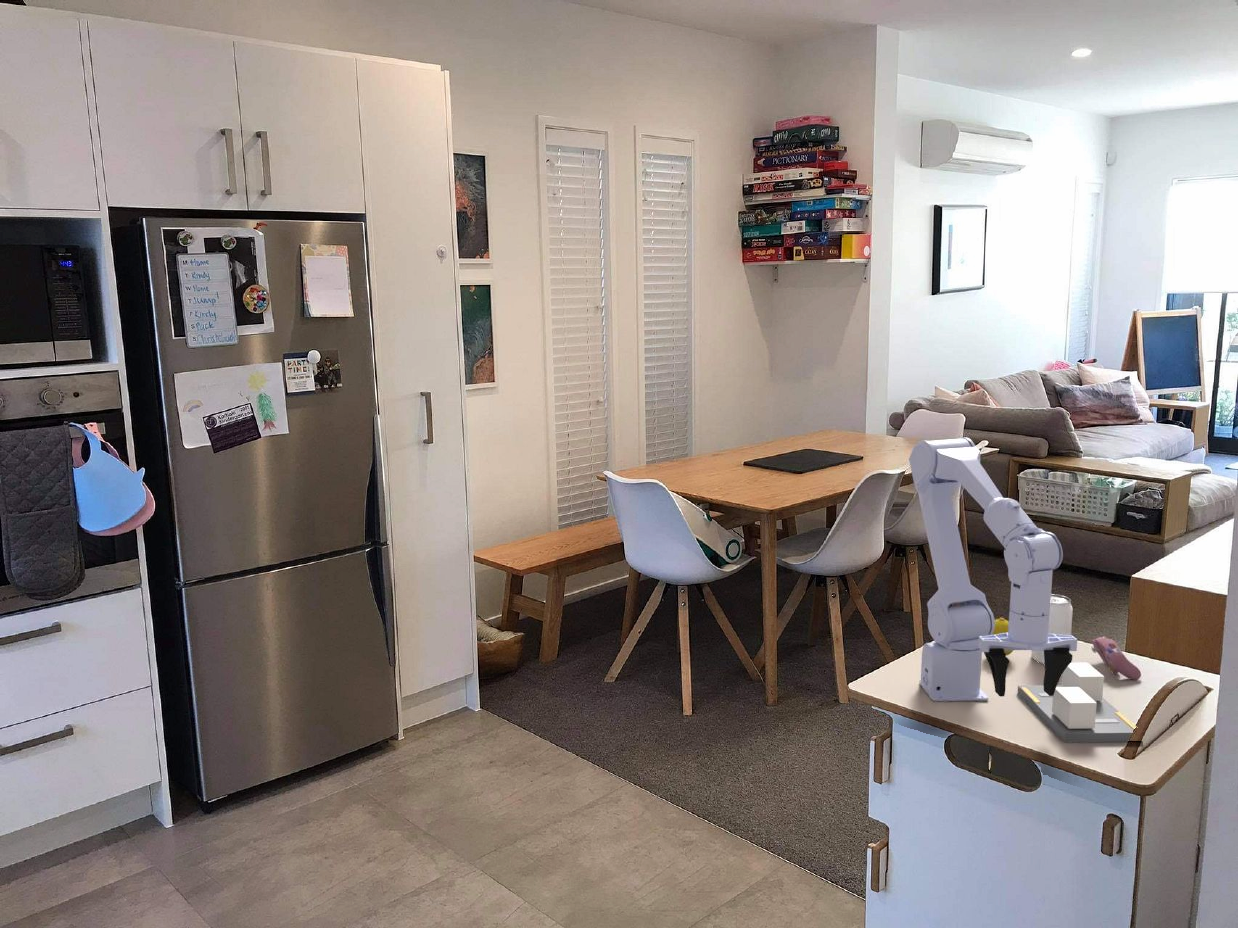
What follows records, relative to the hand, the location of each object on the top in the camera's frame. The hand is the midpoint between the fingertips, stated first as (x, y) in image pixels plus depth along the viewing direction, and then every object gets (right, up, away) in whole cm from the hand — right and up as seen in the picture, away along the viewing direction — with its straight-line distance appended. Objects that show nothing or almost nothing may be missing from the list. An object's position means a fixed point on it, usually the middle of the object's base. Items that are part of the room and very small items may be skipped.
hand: (1024, 693), depth 153 cm
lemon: (+8, -1, +31) cm, 32 cm away
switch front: (+8, -4, +1) cm, 9 cm away
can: (+17, -1, +30) cm, 34 cm away
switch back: (+14, -2, +11) cm, 18 cm away
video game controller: (+27, -2, +25) cm, 36 cm away
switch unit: (+11, -5, +6) cm, 14 cm away
